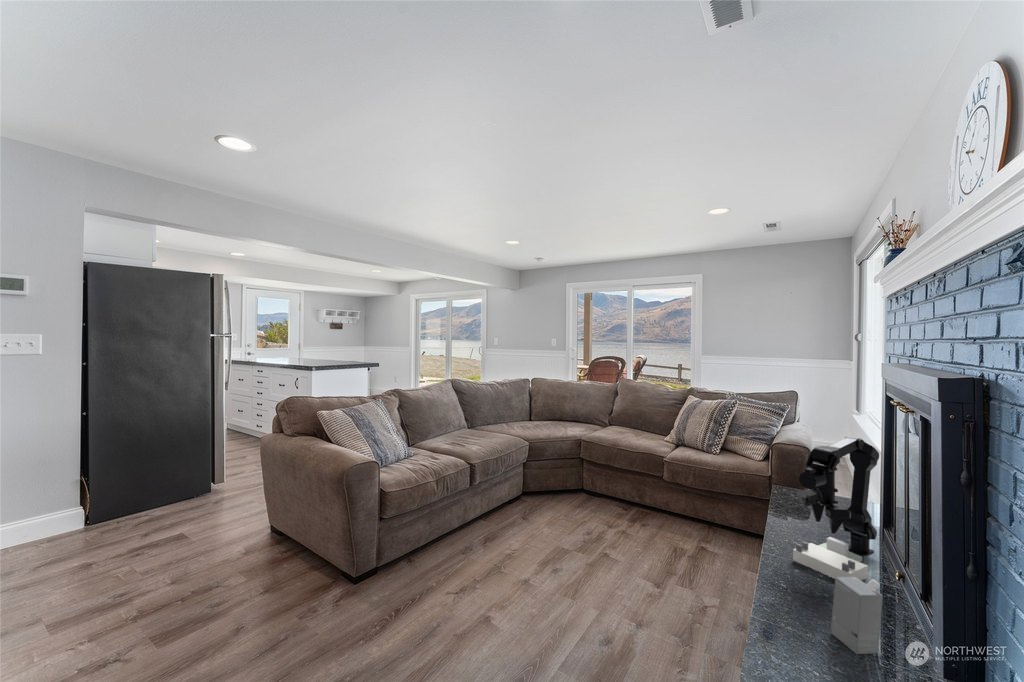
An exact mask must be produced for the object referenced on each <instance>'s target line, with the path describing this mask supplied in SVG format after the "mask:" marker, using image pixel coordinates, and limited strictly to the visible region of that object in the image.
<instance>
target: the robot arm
mask: <svg viewBox="0 0 1024 682" xmlns="http://www.w3.org/2000/svg"><path fill="white" fill-rule="evenodd" d="M848 454H849V461H850V462H851V465H852V466H853V477H852V484H851V485H852V486H851V487H852V488H851V498H850V506H849V507H847V508H845V506H843V505H839V501H838V500H837V499H836V493H838V492H839V490H838V488H836V480H835V479H836V477H835V475H836V473H835V472H836V471H838V468H837V466H838V465H839V464H840V463H841V459H842V458H843V457H845V456H846V455H848ZM879 458H880V452H879V451H878V450H877V449H876V448H875V447H874V446H873V445H871V444H869V443H867V442H865V440H864V439H862V438H860V437H854V436H850V435H849V436H845V437H844V438H842V439H841V440H839V441H837V442H834V443H833V444H831V445H827V446H824V445H821V446H815V447H814V448H813V449H812V450H811V451H810V453H809V456H808V459H807V461H806V464H805V467H807V468H804V471H803V472H802V473H800V474H799V476H798V482H799V483H800V485H801V486H802V487H803V488H805V489H804V490H802V491H798V492H797V493H796V496H797V498H798V500H799V502H800V503H801V504H803V505H804V506H806V507H811V510H812V512H813V516H814V518H815V522H817V523H820V522H821V520H822V517H823V513H824V512H825V513H824V515H825V516H826V517H827V518H828V520H829V521H828V523H829V528H830V533H831V534H834V535H835V534H836V533H837V532H838V530H839V529H840V527H841V526H842V528H843V531H844V532H848V533H849V534H850V537H849V539H850V540H849V542H850V544H848V551H849V550H850V551H852V552H853V553H854V552H855V553H858V554H860V555H861V556H868V555H870V554H872V553H873V554H874V552H875V551H874V550H873V549H871V548H870V540H874V541H875V540H876V538H877V537H878V534H877V533H878V531H877V529H876V528H875V526H874V525H873V523H872V520H873V519H872V516H871V514H870V512H869V511H868V500H869V492H870V491H869V489H870V481H871V471H872V470H873V469H874V468H875V467H876V466H877V465H878V461H879ZM835 504H837V505H835Z"/></svg>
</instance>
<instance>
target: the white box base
mask: <svg viewBox="0 0 1024 682" xmlns="http://www.w3.org/2000/svg"><path fill="white" fill-rule="evenodd" d="M818 545H819V544H818ZM818 545H817V544H815V543H812V542H810V543H808V542H806V541H801V544H800V543H797V544H796V543H795V548H793V549H792V561H794V562H796V563H798V564H800V565H803V566H805V567H807V568H809V567H810V569H811V568H812V570H814V571H816V572H818V571H819V573H820V572H821V573H820V574H823V575H825V576H827V575H828V576H827V577H830V578H831V577H832V578H831V579H834V580H835V577H856V578H858V579H859V580H861V581H864V580H866V579H868V578H869V565H867V564H865V563H863V562H858V561H855V560H853V559H850V558H848V557H845V556H843V555H840V554H838V553H835V552H833V551H830V550H828V549H825V548H823V547H820V546H818Z"/></svg>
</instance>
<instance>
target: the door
mask: <svg viewBox="0 0 1024 682" xmlns="http://www.w3.org/2000/svg"><path fill="white" fill-rule="evenodd" d="M818 546H820V547H823V548H825V549H828V550H830V551H833V552H835V553H838V554H840V555H843V556H845V557H848V558H850V559H853V560H855V561H858V562H860V563H862V562H863V555H859V554H856V553H854V552H851V551H849V549H848V546H849V543H847V542H844V541H843V540H840V539H837V538H834V537H832V536H828V537H826V542H823V543H821V544H818Z"/></svg>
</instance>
